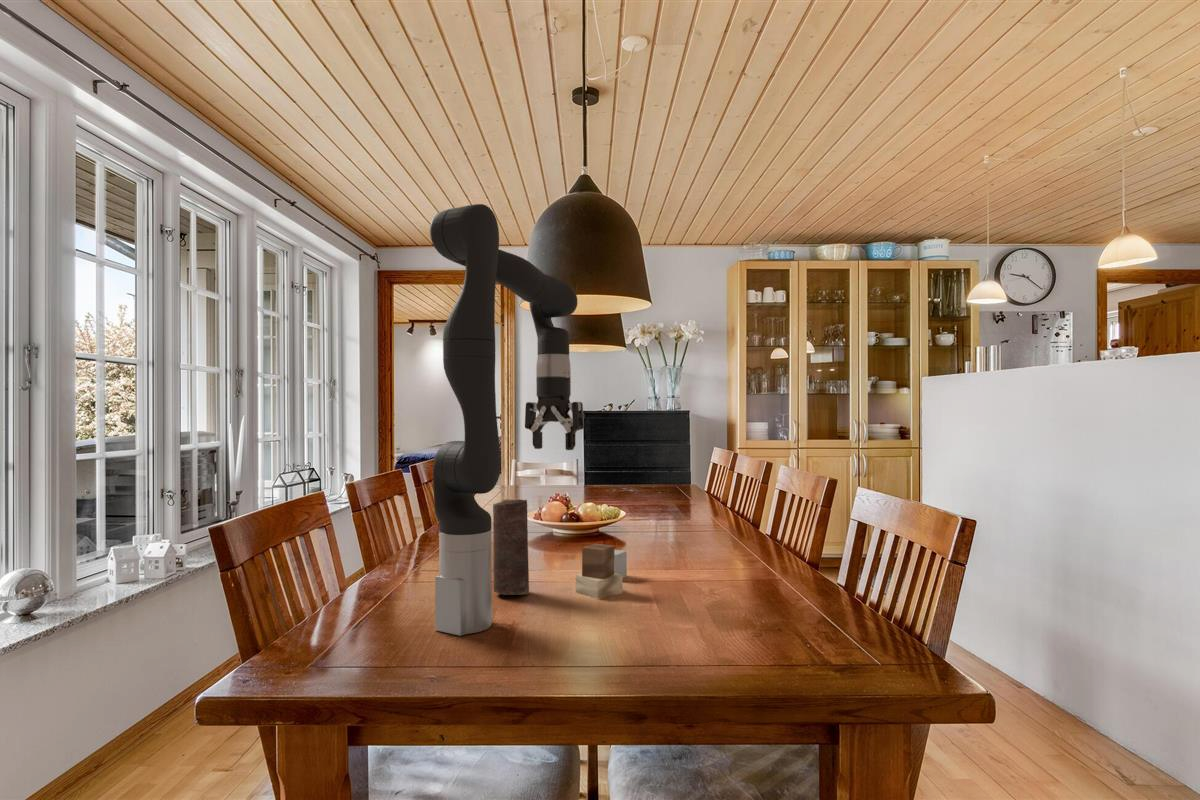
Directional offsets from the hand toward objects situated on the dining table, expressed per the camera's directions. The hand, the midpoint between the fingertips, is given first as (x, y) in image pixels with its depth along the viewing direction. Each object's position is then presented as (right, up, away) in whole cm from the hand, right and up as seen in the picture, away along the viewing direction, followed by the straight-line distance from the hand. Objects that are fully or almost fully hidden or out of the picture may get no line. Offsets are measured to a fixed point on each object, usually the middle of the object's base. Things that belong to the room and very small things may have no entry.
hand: (553, 449), depth 146 cm
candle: (-9, -30, -7) cm, 32 cm away
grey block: (+13, -30, +7) cm, 34 cm away
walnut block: (+10, -26, -5) cm, 29 cm away
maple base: (+10, -30, -5) cm, 32 cm away
